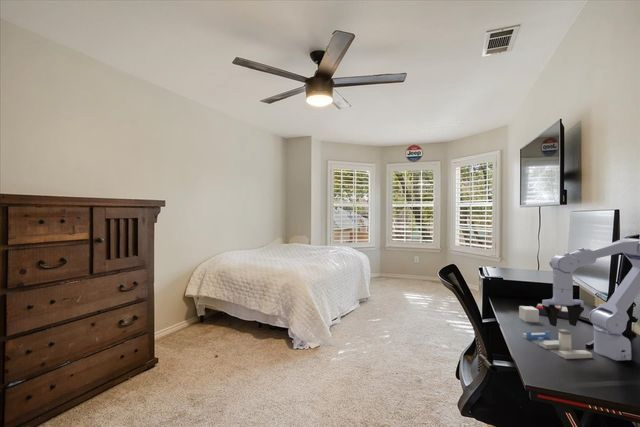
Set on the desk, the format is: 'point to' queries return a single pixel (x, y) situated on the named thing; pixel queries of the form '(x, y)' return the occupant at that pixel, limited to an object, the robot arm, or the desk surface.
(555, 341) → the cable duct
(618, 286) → the robot arm
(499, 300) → the desk surface
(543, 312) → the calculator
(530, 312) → the cream white cube
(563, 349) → the cream round-ended cylinder
